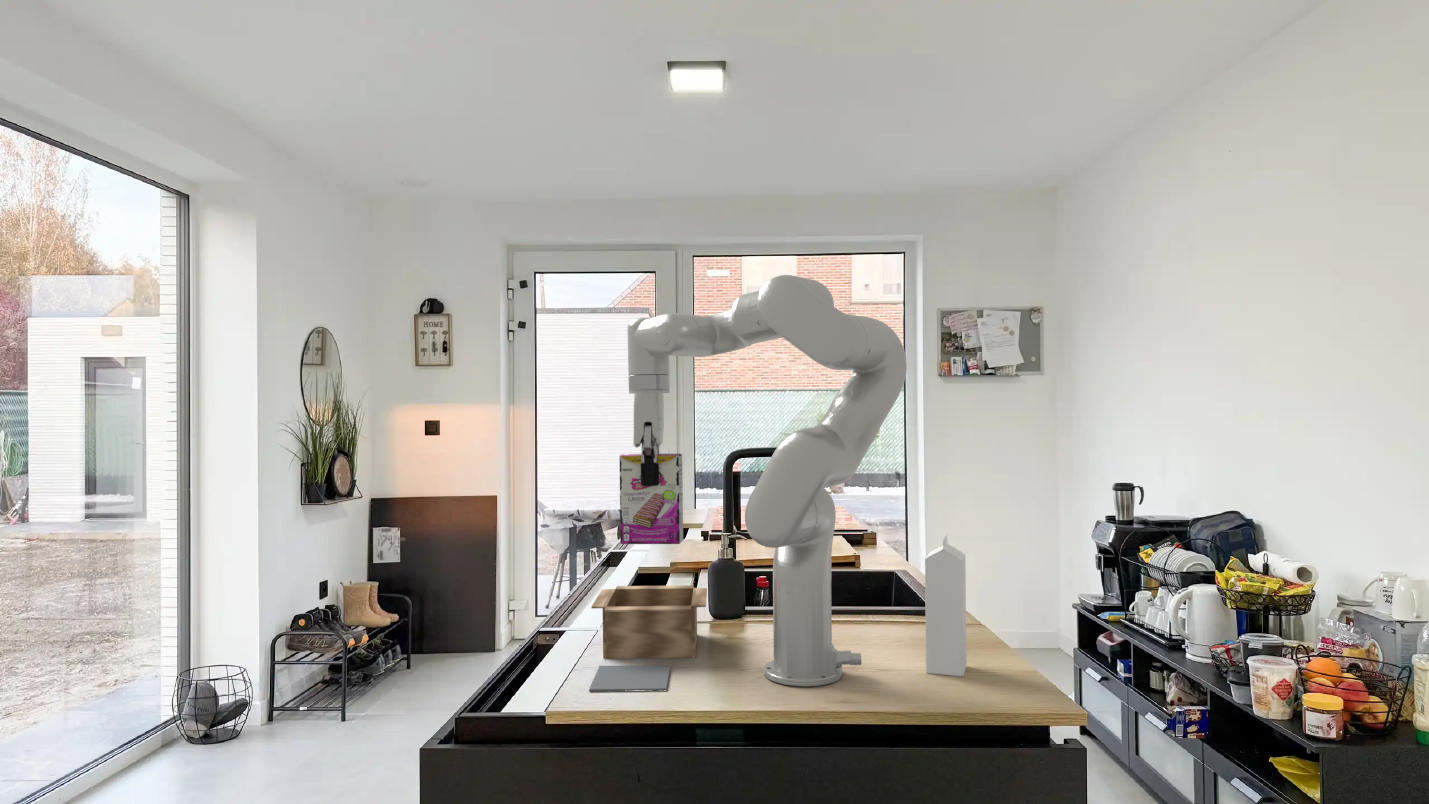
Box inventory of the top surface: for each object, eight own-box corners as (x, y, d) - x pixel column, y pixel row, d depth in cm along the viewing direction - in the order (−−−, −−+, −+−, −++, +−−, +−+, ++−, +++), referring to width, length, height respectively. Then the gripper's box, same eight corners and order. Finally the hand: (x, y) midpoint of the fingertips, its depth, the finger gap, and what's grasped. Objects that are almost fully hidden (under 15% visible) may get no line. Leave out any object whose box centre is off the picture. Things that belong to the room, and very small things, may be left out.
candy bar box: (619, 545, 160) (617, 454, 160) (625, 541, 165) (623, 453, 165) (680, 544, 159) (678, 453, 159) (684, 540, 164) (682, 452, 164)
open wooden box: (707, 631, 172) (707, 585, 171) (706, 660, 152) (705, 608, 152) (604, 632, 172) (603, 586, 172) (589, 662, 152) (589, 610, 152)
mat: (670, 667, 149) (670, 664, 149) (666, 690, 137) (666, 688, 137) (599, 668, 149) (599, 665, 149) (589, 691, 137) (589, 689, 137)
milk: (966, 666, 148) (966, 535, 147) (963, 677, 142) (963, 540, 142) (929, 662, 150) (929, 533, 150) (925, 673, 144) (924, 538, 144)
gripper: (633, 386, 170) (635, 480, 170) (623, 384, 153) (626, 489, 153) (671, 385, 170) (674, 479, 170) (666, 384, 153) (669, 488, 153)
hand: (651, 483), depth 162 cm, fingers closed on candy bar box, 5 cm apart
